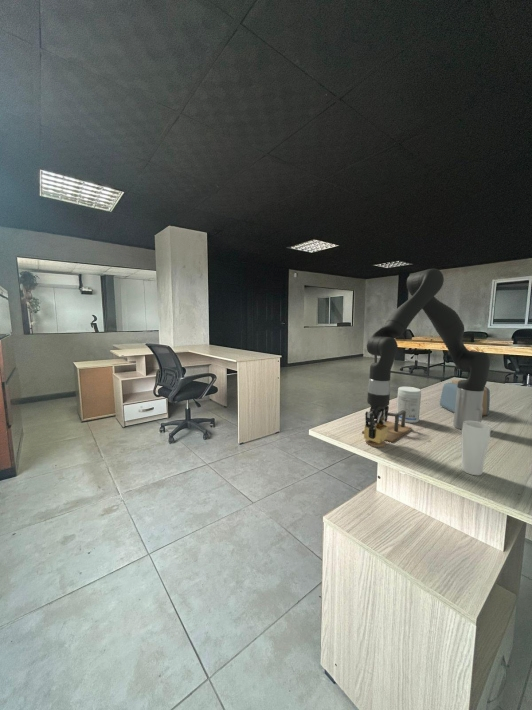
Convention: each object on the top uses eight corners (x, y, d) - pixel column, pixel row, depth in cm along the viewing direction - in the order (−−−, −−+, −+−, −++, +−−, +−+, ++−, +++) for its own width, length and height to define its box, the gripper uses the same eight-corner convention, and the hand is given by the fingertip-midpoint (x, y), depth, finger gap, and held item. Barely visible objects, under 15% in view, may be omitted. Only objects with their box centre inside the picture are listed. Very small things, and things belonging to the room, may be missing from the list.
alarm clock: (491, 416, 137) (494, 384, 135) (457, 416, 138) (460, 384, 136) (467, 406, 154) (470, 377, 152) (437, 405, 154) (440, 377, 152)
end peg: (388, 443, 105) (389, 431, 105) (380, 449, 100) (381, 436, 100) (370, 437, 110) (371, 425, 110) (361, 442, 105) (362, 430, 105)
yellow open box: (387, 438, 105) (387, 425, 104) (379, 443, 101) (380, 430, 100) (371, 433, 109) (372, 421, 109) (364, 438, 105) (364, 425, 105)
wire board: (411, 429, 119) (413, 411, 118) (391, 442, 106) (393, 422, 105) (383, 421, 128) (385, 404, 127) (361, 433, 114) (363, 414, 113)
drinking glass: (480, 468, 88) (485, 422, 87) (489, 479, 82) (495, 430, 80) (455, 464, 91) (459, 419, 89) (461, 475, 84) (467, 426, 82)
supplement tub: (401, 414, 138) (404, 385, 136) (422, 420, 131) (425, 389, 129) (392, 419, 132) (394, 388, 130) (413, 425, 125) (415, 392, 123)
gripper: (379, 397, 95) (376, 444, 97) (397, 390, 105) (394, 433, 107) (359, 392, 101) (356, 437, 103) (377, 386, 110) (375, 428, 113)
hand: (375, 435), depth 105 cm, fingers closed on yellow open box, 5 cm apart
